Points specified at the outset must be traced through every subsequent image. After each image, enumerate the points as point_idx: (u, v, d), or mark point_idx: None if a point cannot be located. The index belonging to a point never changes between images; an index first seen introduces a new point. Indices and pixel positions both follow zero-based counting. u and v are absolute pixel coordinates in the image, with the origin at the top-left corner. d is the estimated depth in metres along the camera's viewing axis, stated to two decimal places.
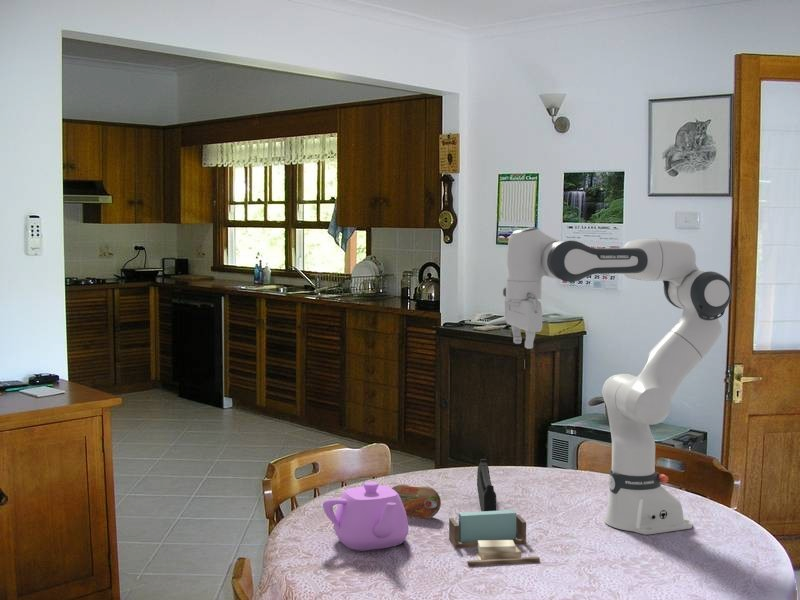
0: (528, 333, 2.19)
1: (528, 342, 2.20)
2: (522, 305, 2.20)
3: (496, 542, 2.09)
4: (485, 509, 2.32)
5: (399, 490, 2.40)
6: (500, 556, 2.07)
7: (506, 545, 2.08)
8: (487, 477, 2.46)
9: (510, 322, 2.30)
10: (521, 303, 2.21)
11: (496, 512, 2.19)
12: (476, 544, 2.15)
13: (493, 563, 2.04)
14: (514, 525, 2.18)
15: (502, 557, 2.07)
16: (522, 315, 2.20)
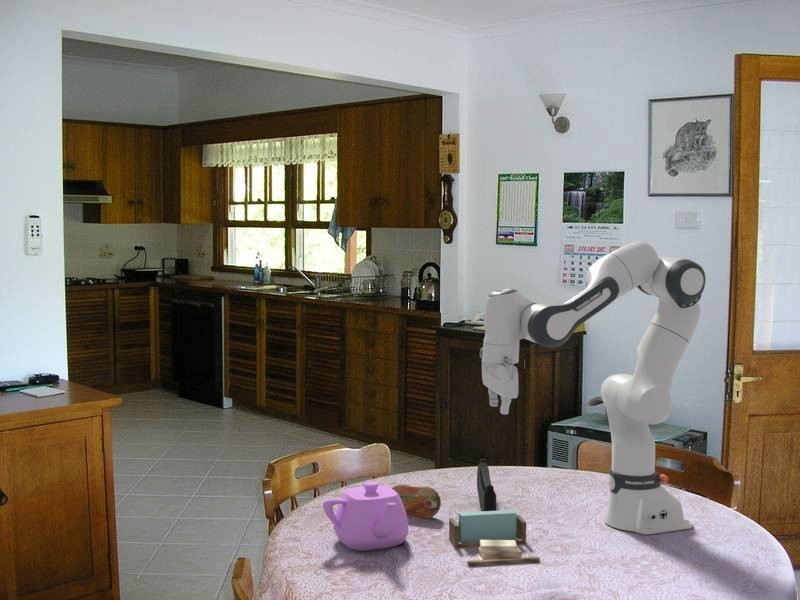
0: (504, 399, 2.13)
1: (504, 408, 2.14)
2: (498, 369, 2.14)
3: (498, 542, 2.09)
4: (485, 509, 2.32)
5: (399, 490, 2.40)
6: (501, 555, 2.06)
7: (507, 545, 2.07)
8: (487, 477, 2.45)
9: (486, 384, 2.24)
10: (497, 367, 2.14)
11: (496, 512, 2.19)
12: (476, 544, 2.15)
13: (493, 563, 2.04)
14: (514, 525, 2.18)
15: (502, 557, 2.07)
16: (498, 380, 2.14)
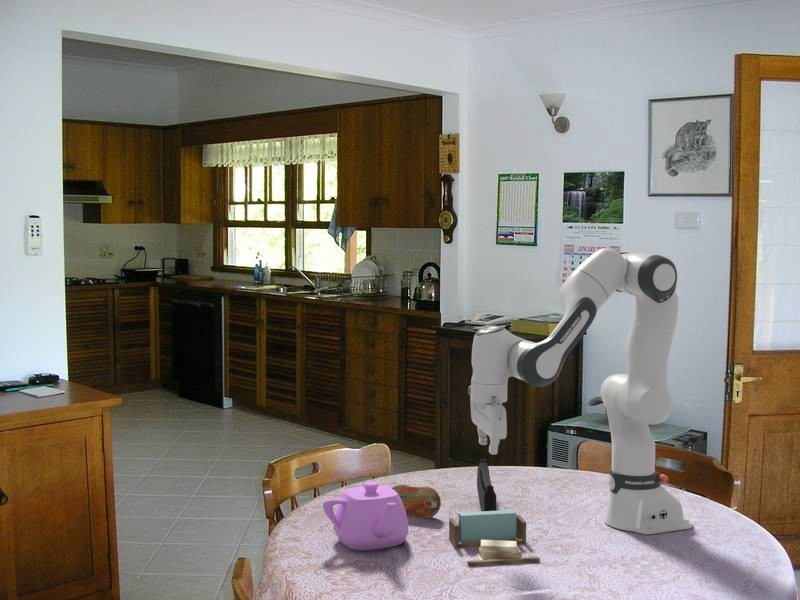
0: (492, 439, 2.10)
1: (492, 448, 2.11)
2: (486, 409, 2.11)
3: (498, 542, 2.09)
4: (485, 509, 2.32)
5: (399, 490, 2.40)
6: (501, 556, 2.06)
7: (507, 545, 2.07)
8: (487, 477, 2.45)
9: (475, 422, 2.21)
10: (485, 407, 2.12)
11: (496, 512, 2.19)
12: (476, 544, 2.15)
13: (493, 563, 2.04)
14: (514, 525, 2.18)
15: (502, 557, 2.06)
16: (486, 420, 2.11)
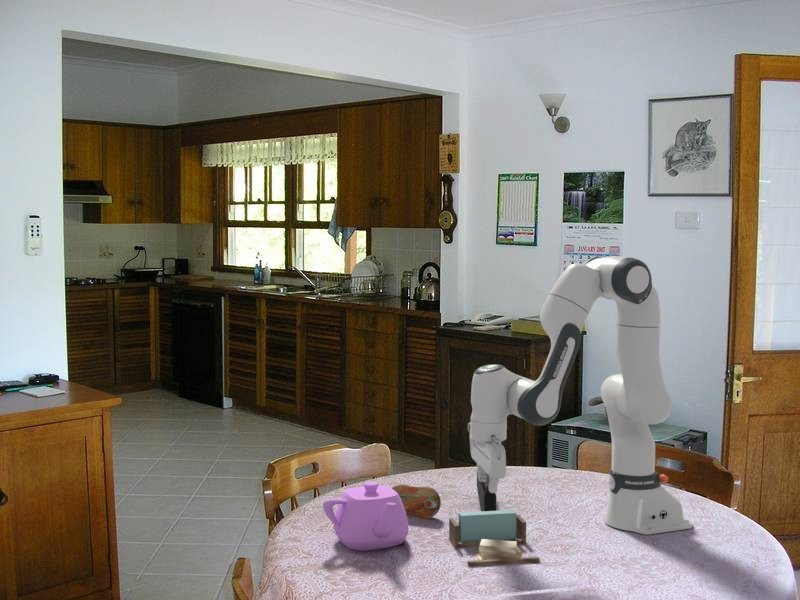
0: (492, 478, 2.11)
1: (492, 486, 2.12)
2: (486, 448, 2.12)
3: (498, 542, 2.09)
4: (485, 509, 2.32)
5: (399, 490, 2.40)
6: (500, 555, 2.06)
7: (506, 546, 2.07)
8: (487, 477, 2.45)
9: (475, 459, 2.22)
10: (485, 445, 2.13)
11: (496, 512, 2.19)
12: (476, 544, 2.15)
13: (493, 563, 2.04)
14: (514, 525, 2.18)
15: (502, 557, 2.06)
16: (486, 458, 2.12)
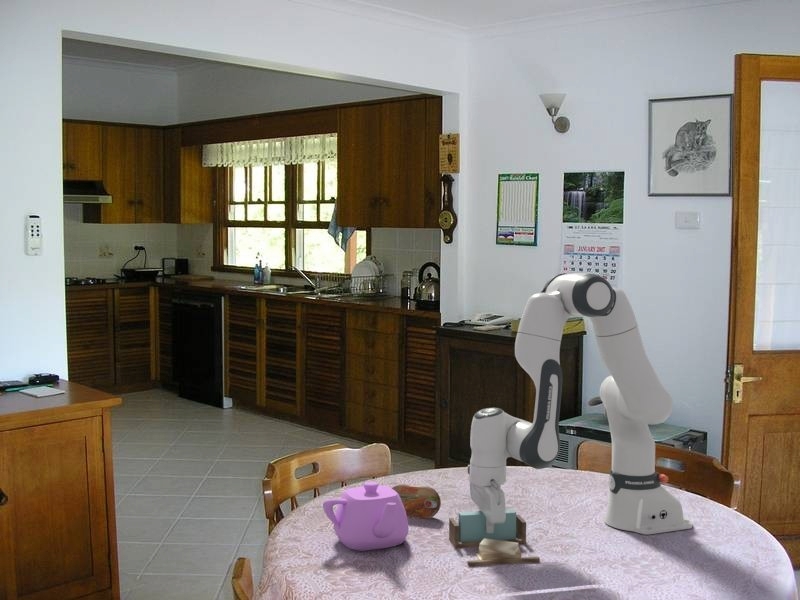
0: None
1: (488, 527, 2.16)
2: (485, 492, 2.13)
3: (499, 542, 2.09)
4: None
5: (399, 490, 2.40)
6: (500, 555, 2.06)
7: (506, 546, 2.06)
8: None
9: (475, 501, 2.23)
10: (484, 490, 2.13)
11: None
12: (476, 544, 2.15)
13: (493, 563, 2.04)
14: (514, 525, 2.18)
15: (501, 557, 2.07)
16: (485, 502, 2.13)
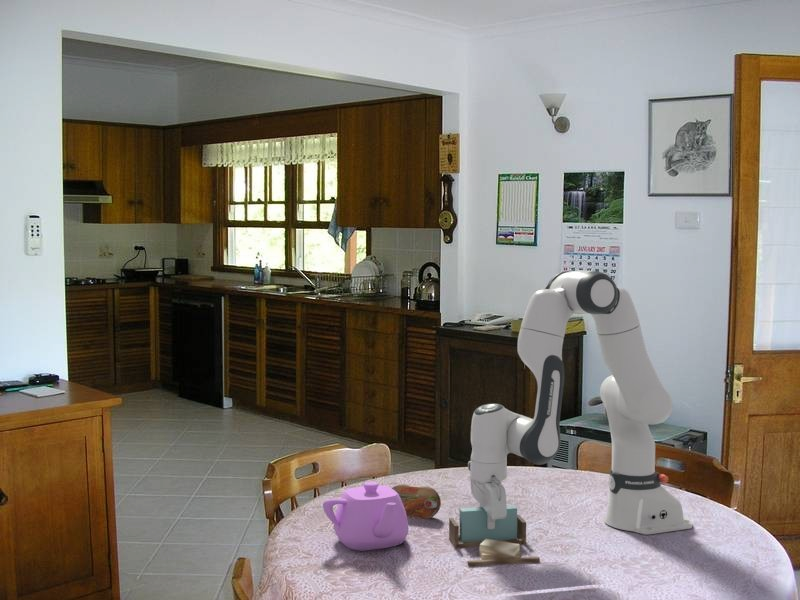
0: None
1: (489, 523, 2.15)
2: (486, 488, 2.13)
3: (500, 543, 2.09)
4: None
5: (399, 490, 2.40)
6: (500, 556, 2.06)
7: (506, 547, 2.06)
8: None
9: (475, 497, 2.23)
10: (485, 486, 2.13)
11: None
12: (476, 544, 2.15)
13: (493, 563, 2.04)
14: (515, 520, 2.18)
15: (501, 558, 2.06)
16: (486, 498, 2.13)
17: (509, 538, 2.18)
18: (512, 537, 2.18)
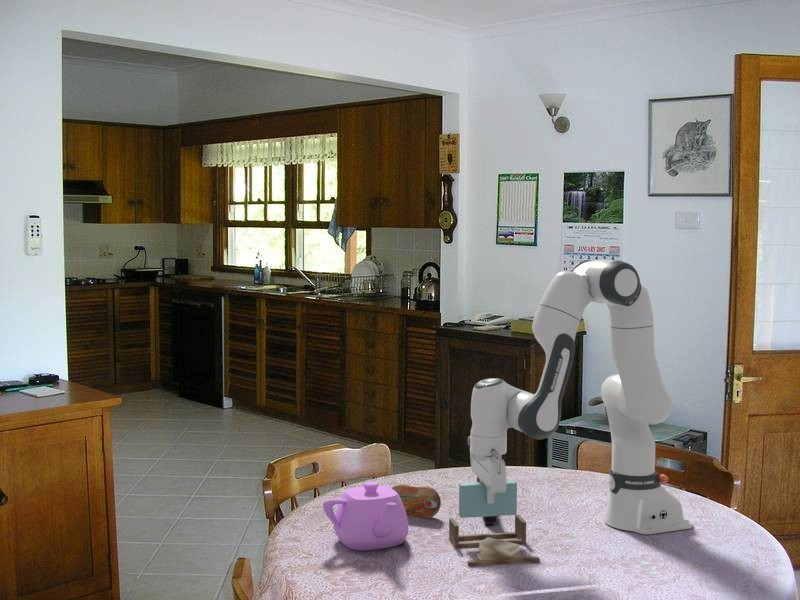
0: (489, 489, 2.14)
1: (489, 497, 2.15)
2: (486, 462, 2.12)
3: (500, 542, 2.09)
4: None
5: (399, 490, 2.40)
6: (499, 556, 2.06)
7: (504, 547, 2.06)
8: None
9: (475, 472, 2.22)
10: (485, 460, 2.13)
11: None
12: (476, 544, 2.15)
13: (493, 563, 2.04)
14: (514, 495, 2.18)
15: (500, 557, 2.06)
16: (486, 472, 2.12)
17: (509, 513, 2.18)
18: (512, 512, 2.18)
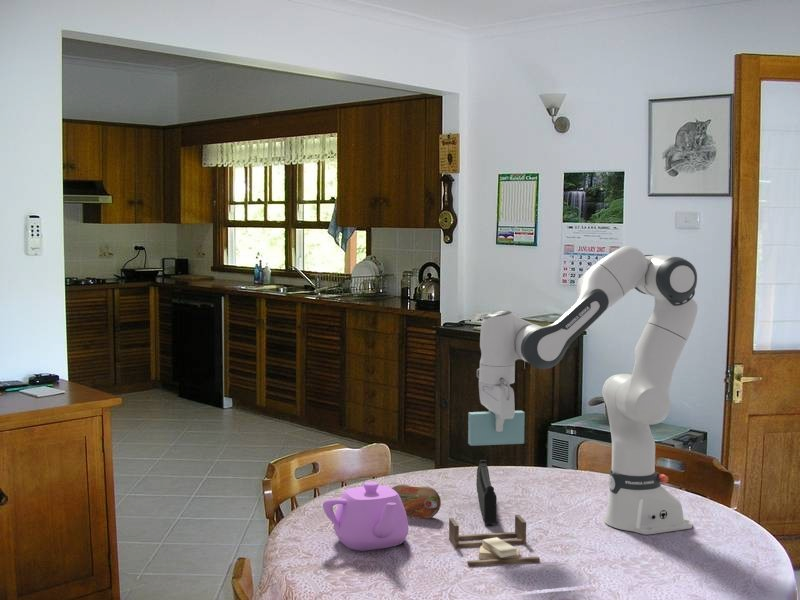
0: (498, 417, 2.20)
1: (498, 425, 2.21)
2: (495, 390, 2.18)
3: (500, 543, 2.09)
4: (485, 510, 2.31)
5: (399, 490, 2.40)
6: (496, 556, 2.07)
7: (498, 548, 2.06)
8: (487, 478, 2.44)
9: (484, 404, 2.29)
10: (494, 388, 2.19)
11: None
12: (476, 544, 2.15)
13: (493, 563, 2.04)
14: (522, 424, 2.24)
15: (498, 557, 2.06)
16: (495, 400, 2.19)
17: (516, 442, 2.24)
18: (519, 441, 2.24)
